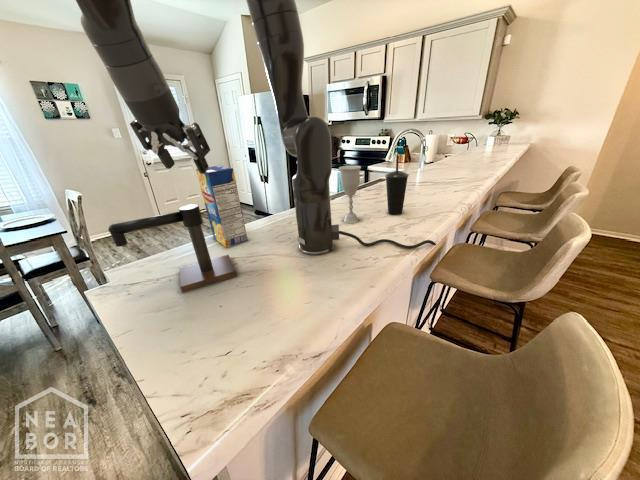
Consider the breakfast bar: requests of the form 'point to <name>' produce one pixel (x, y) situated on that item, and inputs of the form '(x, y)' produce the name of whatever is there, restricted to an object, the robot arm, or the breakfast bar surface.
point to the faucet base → (204, 265)
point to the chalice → (350, 187)
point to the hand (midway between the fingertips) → (187, 168)
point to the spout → (156, 223)
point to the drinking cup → (396, 190)
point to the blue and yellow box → (223, 205)
